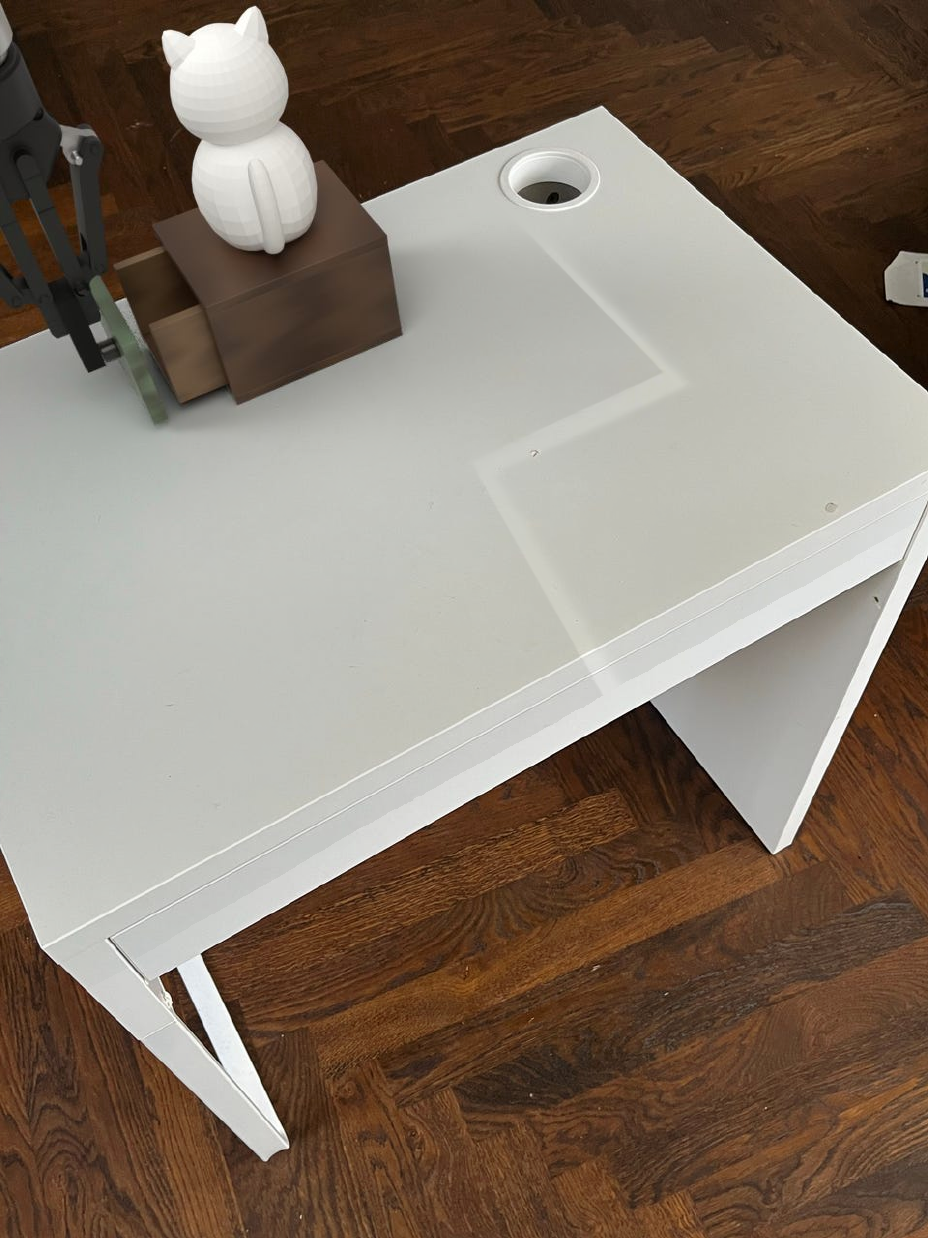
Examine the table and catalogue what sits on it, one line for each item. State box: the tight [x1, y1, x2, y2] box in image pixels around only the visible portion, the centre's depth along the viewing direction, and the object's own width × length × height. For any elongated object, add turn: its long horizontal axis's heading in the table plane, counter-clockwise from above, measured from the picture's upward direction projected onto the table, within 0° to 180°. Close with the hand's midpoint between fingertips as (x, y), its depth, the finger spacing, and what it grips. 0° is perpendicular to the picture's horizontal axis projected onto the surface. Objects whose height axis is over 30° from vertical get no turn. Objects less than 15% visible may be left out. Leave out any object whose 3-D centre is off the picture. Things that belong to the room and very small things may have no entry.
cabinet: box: [151, 159, 403, 406], centre depth 91 cm, size 15×12×10 cm
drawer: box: [89, 246, 228, 426], centre depth 89 cm, size 15×10×8 cm
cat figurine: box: [161, 5, 317, 254], centre depth 81 cm, size 9×12×15 cm
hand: (92, 358), depth 87 cm, fingers closed
